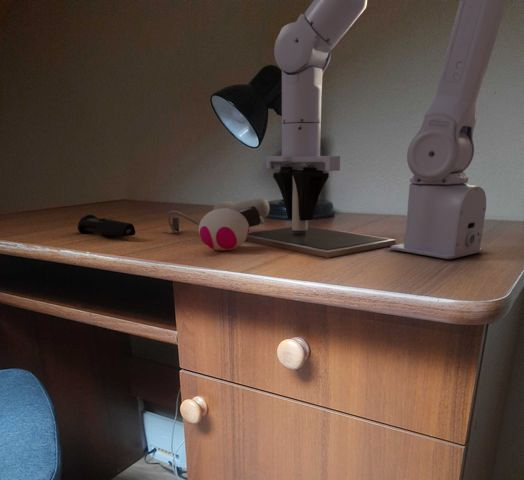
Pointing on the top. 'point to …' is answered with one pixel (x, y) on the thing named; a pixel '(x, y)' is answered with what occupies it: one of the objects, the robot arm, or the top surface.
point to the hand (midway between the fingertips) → (299, 219)
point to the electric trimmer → (105, 227)
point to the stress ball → (223, 229)
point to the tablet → (320, 241)
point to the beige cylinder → (297, 214)
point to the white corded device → (249, 209)
